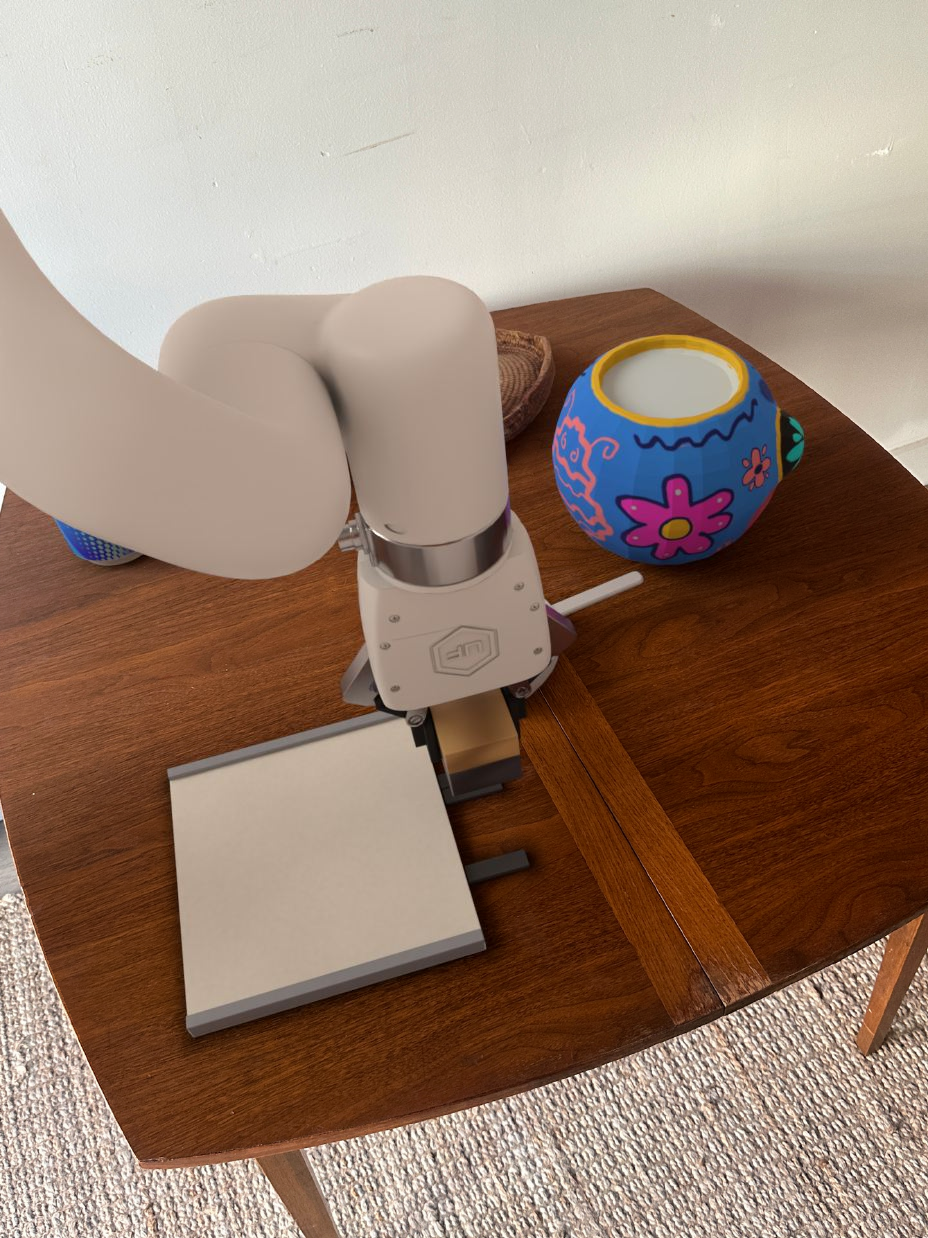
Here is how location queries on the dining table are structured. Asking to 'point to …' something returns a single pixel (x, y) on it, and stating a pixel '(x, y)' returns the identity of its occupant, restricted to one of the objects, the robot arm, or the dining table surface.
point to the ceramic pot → (671, 448)
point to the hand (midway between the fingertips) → (470, 732)
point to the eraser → (477, 741)
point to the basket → (523, 377)
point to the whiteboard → (313, 870)
